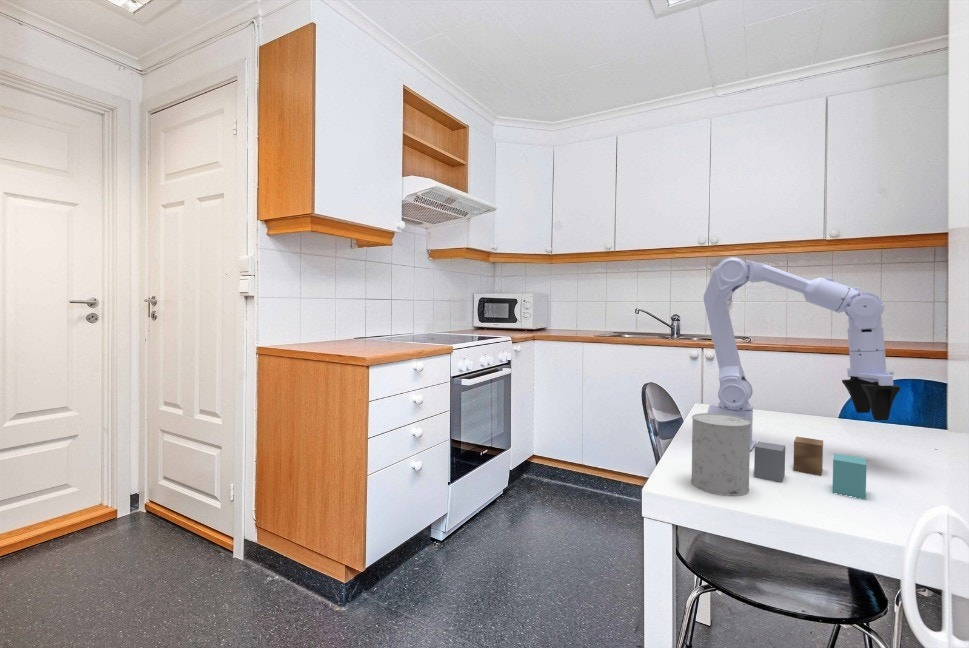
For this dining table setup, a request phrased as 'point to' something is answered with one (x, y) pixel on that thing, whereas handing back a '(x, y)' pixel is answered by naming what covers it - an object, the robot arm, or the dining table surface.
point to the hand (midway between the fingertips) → (871, 416)
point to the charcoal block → (769, 461)
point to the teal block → (849, 476)
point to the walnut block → (808, 455)
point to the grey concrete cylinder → (720, 453)
